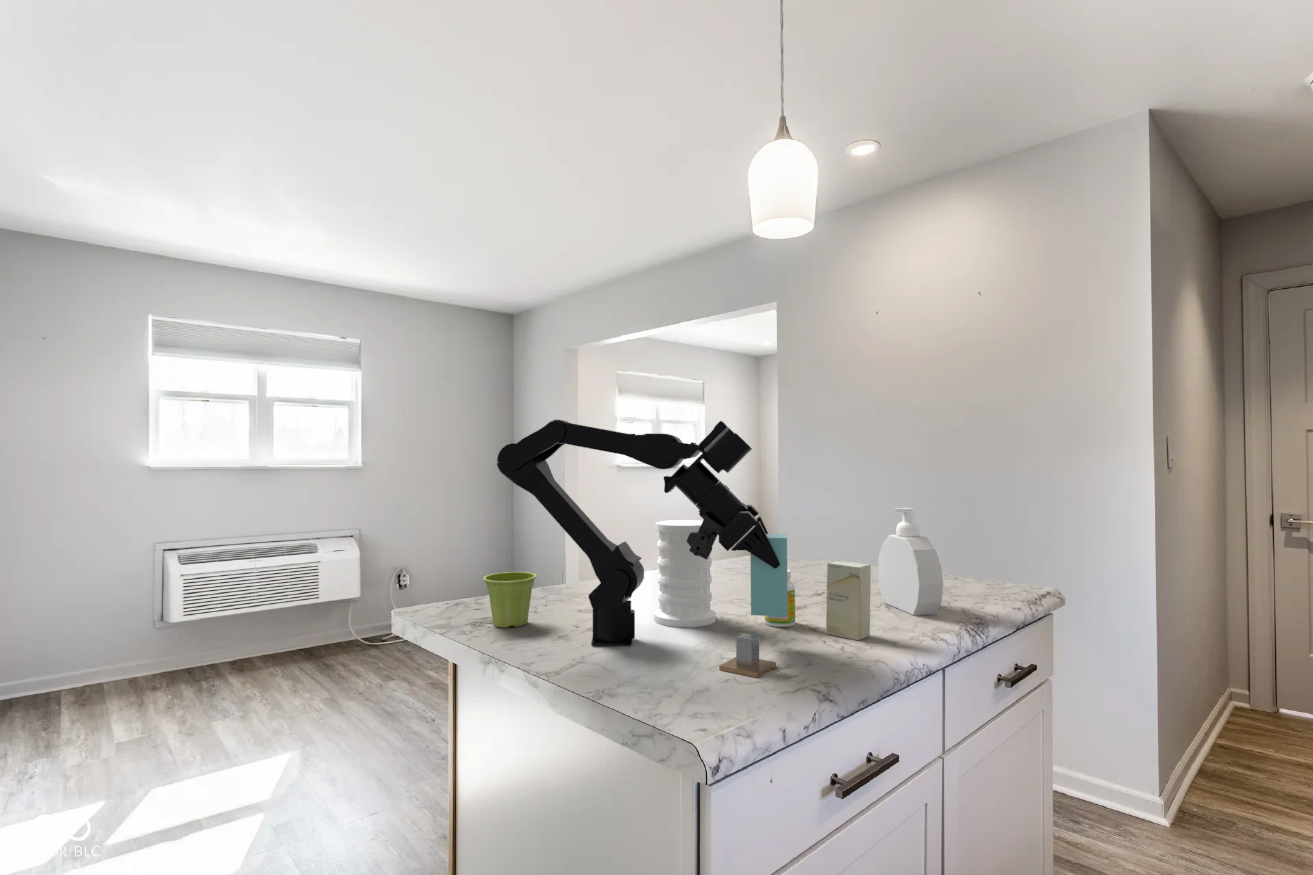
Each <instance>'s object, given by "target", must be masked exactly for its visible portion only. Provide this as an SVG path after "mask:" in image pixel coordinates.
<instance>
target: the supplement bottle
mask: <svg viewBox="0 0 1313 875" xmlns="http://www.w3.org/2000/svg"><path fill="white" fill-rule="evenodd" d="M791 578H792V571H791V570H790V569H788V568H787V590H788V616H764V623H765V624H766V625H768V626H770V627H773V628H788V627H789V628H790V627H793V626H795V624H796V586H795V583H793V582H792V581H790V579H791Z"/></svg>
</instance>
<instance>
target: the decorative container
mask: <svg viewBox="0 0 1313 875" xmlns="http://www.w3.org/2000/svg"><path fill="white" fill-rule="evenodd" d="M702 522H703V520H698V519H697V520H695V519H674V520H673V519H671V520H661V521H657V522H655V531H657V532H658V533H659V536H658V540H657V543H656V544H657V549H658V550H659V551H658V554H659V556H658V558H657V561H656V562H657V565H658V569H659V574H658V575H657V584H659V586H658V589H659V591H658V592H657V593H658V594H657V600H658V602H659V603H658V604H659V606H658V609H656V610H655V611H654V612H653V620H654V622H655V623H656V624H659V625H661V626H666V627H673V628H698V627H700V628H701V627H705V626H709V625H712V624H714V623H715V622H716V621H717V612H716V611H715V610H713V609H712V608H711V601H712V599H713V594H712V592H711V584H712V580H713V577H712V574H711V567H712V563H713V561H712V557H711V554H710V555H709V557H708V559H707V560H706V559H704V558H702V557H700V556H695V555H694V554H693V553H692V552H690V551H689V550H690V548H691V547H690V545H689V544H688V543H687V539H688V537H689V534H690V533H691V532H698V531H699V528H700V527H701V524H702Z"/></svg>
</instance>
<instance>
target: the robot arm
mask: <svg viewBox="0 0 1313 875" xmlns="http://www.w3.org/2000/svg"><path fill="white" fill-rule="evenodd" d="M565 445H569V446H574V447H580V448H586V449H591V450H595V451H601V452H607V453H612V454H616V455H617V454H618V455H623V456H625V457H626V456H627V457H628V458H630V459H633V460H636V461H637V462H640V463H642V464H645V465H647V466H650V467H653V468H655V469H659V470H669V469H675V468H677V467H678V466H679V465H681V463H682V462H683V461H684V460H688V459H692V458H696V459H695V460H694V461H693V462H692V463H691V464H690V465H689V466H687V465H686V464H684V463H683V464H682V465H681V466H680V467H679V468H678V469H677V470H676V471H675V472H674V473H673V474H672V475H666V476H663V481H664V488H663V492H664V493H666V494H669V493H671V492H672V491H673V490H674V489H675V488H677V489H678V490H679V491H680V492H681V493H682V494H683V495H684V496H685V497H686V498H687V499H688V500H689V501H690V502H691V503H692V504H693V505H694V506H695V507H696V508H697V510H698V512H699V513H698V515H699V516H700V518H701V519H702V521H703V522H702V524H701V527H700V528H699V531H698V532H691V533H690V534H689V537H688V539H687V543H688V544H689V545H690V547H691V548H690V550H689V551H690V552H692V553H693V554H694V555H695V556H700V557H702V558H704V559H706V560H707V559H708V557H709V555H710V556H711V553H712V551H713V545H714V543H715V542H716V539H717V537H718V543H719V545H720V546H722V548H723V549H724V550H726V552H729V551H730V550H731V551H732V552H733V551H734V552H735V551H746V552H748V553H750V555H751V554H753V555H754V556H756V557H758V558H759V559H761V560H762V561H764V562H765V563H767V564H768V565H770V566H771V567H773V568H775V569H776V568H777V567H778V566H779V565H780V562H779V560H778V558H777V556H776V554H775V552H774V550H773V548H772V546H771V544H770V542H769V539H768V537H767V535H766V534H769V532H768V530H767V527H766V525H765V523H764V521H763V518H762V516H761V515H759V514H760V512H759V510H757V509H756V508H755V506H753V505H752V504H745V503H744V502H742V501H741V500H740V499H739V498H738V497H737V496H736V495H735V494H734V493H733V492H732V491H731V489H730V488H729V487H728V485H726V484H724V483H723V482H722V481H720V479H719V478H718V477H717V476H716V475H715V474H714V473H713V472H712V471H711V470H710V469H709V468H708V467H707V466H706V465H704V463H703V462H702V461H703V460H704V461H705V463H706V464H708V466H709V467H710V468H712V470H714V471H715V472H716V473H717V474H720V473H721V472H722V471H724V472H726V473H727V474H729V473H730V472H731V471H732V470H733V468H735V467H736V466H737V465H738V464H739V462H741V460H743V459H744V458H745V457H746V456H747V455H748V453H750V452H751V451H752V447H751V446H750V445H749V444H748V443H747V442H746V441H745V440H744V439H743V438H742V437H741V436H740V435H739V434H738V433H737V432H734V431H733V430H732V429H731V428H730V427H729V425H726V423H725V422H724V421H722V420H720V421H719V422H717V423H716V424H715V426H714V427H713V429H712V430H711V431H710V432H709V433H708V434H707V435H706V436H705V438H703V439H702V441H700V443H698V444H697V443H696V442H693V441H691V443H686V442H682V440H681V438H679V437H677V435H673V434H669V433H626V432H622V431H621V432H620V431H615V430H610V429H604V428H600V427H599V428H598V427H593V426H589V425H583V424H577V423H571V422H569V421H567V420H563V419H552V420H550V421H549V422H548V423H547V424H545V425H544V426H543V427H541V428H539V429H538V430H536V431H534V432H533V433H531V434H529V435H527V436H525V437H524V438H522V439H521V440H519V441H518V442H517V443H513V442H512V443H508V444H506V445H505V446H503V447H502V448H501V449H500V450H499V452H498V454H497V459H496V460H497V462H496V466H497V469H498V470H499V471H500V473H501V474H502V475H504V477H506V478H507V479H508V480H509V481H510V482H512V483H513V484H515V485H516V486H518V487H519V488H521V489H523V490H524V491H526V492H528V493H529V494H531V495H532V496H533V497H534V498H535V499H536V500H537V501H538V503H540V504H541V505H542V507H543V508H544V509H545V510H546V511H547V512H548V513H549V515H550V516H551V517H552V518H553V519H554V520H555V522H557V523H558V525H560V527H561V528H562V529H563V530H564V531H565V532H566V534H567V535H568V536H569V537H570V538H571V539H572V540H573V542H574V543H575V544H576V546H578V547H579V548H580V549H581V551H582V552H583V553H584V554H585V555H586V557H587V558H588V559H589V561H590V563H591V566H592V567H591V568H592V570H593V571H594V575H595V576H596V577H597V579H598V580H599V582H600V583H599V584H598V585H597V586H596V587H595V588H594V589H593V590H592V591H591V592H589V594H588V599H589V603H590V606H591V608H592V638H591V641H590V644H591V646H631V645H632V643H633V640H634V639H635V638H636V634H635V633H636V629H635V628H636V627H635V626H636V624H635V623H636V622H635V621H636V618H635V614H636V611H635V609H632V600H630V599H631V598H632V596H633V593H634V592H635V591H636V590H637V589H638V588H639V587H640V586H641V585H642V583H643V581H644V579H645V568H644V566H643V565H642V563H641V560H642V557H641V556H639V555H637V554H636V553H635V552H634V551H633V549H632V548H631V546H630V545H629V544H628V542H626V541H622V542H621V543H619V544H616V543H614V542H612V541H610V540H609V539H608V538H607V536H606V535H604V533H603V532H602V531H601V530H600V529H599V528H598V527H597V525H596V524H595V523H594V522H593V521H592V520H591V519H590V517H589V516H587V514H586V512H584V511H583V510H582V509H581V508H580V507H579V505H578V504H577V503H576V502H575V501H574V499H572V498H571V497H570V495H569V494H568V493H567V492H566V491H565V490H564V489H563V488H562V487H561V485H560V484H559V483H558V482H557V481H556V479H555V478H554V476H553V473H552V470H551V468H550V466H549V464H548V462H547V460H548V459H549V458H550V457H552V456H553V455H554V454H555V453H556V452H557V451H558V450H559V449H561V448H562V447H563V446H565ZM700 453H701V454H700ZM699 454H700V455H699ZM698 455H699V456H698ZM697 456H698V457H697ZM758 515H759V516H758ZM756 516H758V517H757V518H756Z"/></svg>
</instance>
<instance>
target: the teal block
mask: <svg viewBox="0 0 1313 875" xmlns="http://www.w3.org/2000/svg"><path fill="white" fill-rule="evenodd" d="M766 535H767V537H768V539H769V542H770V544H771V546H772V548H773V550H774V552H775V554H776V556H777V558H778V560H779V562H780V565H779V566H778V567H777V568H776V569H775V568H773V567H771V566H770V565H768V564H767V563H765V562H764V561H762V560H761V559H759V558H758V557H756V556H754V555H753V554H751V553H750V616H761V617H762V616H764V617H765V616H788V590H787V569H788V536H787V534H786V533H768V534H766Z"/></svg>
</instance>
